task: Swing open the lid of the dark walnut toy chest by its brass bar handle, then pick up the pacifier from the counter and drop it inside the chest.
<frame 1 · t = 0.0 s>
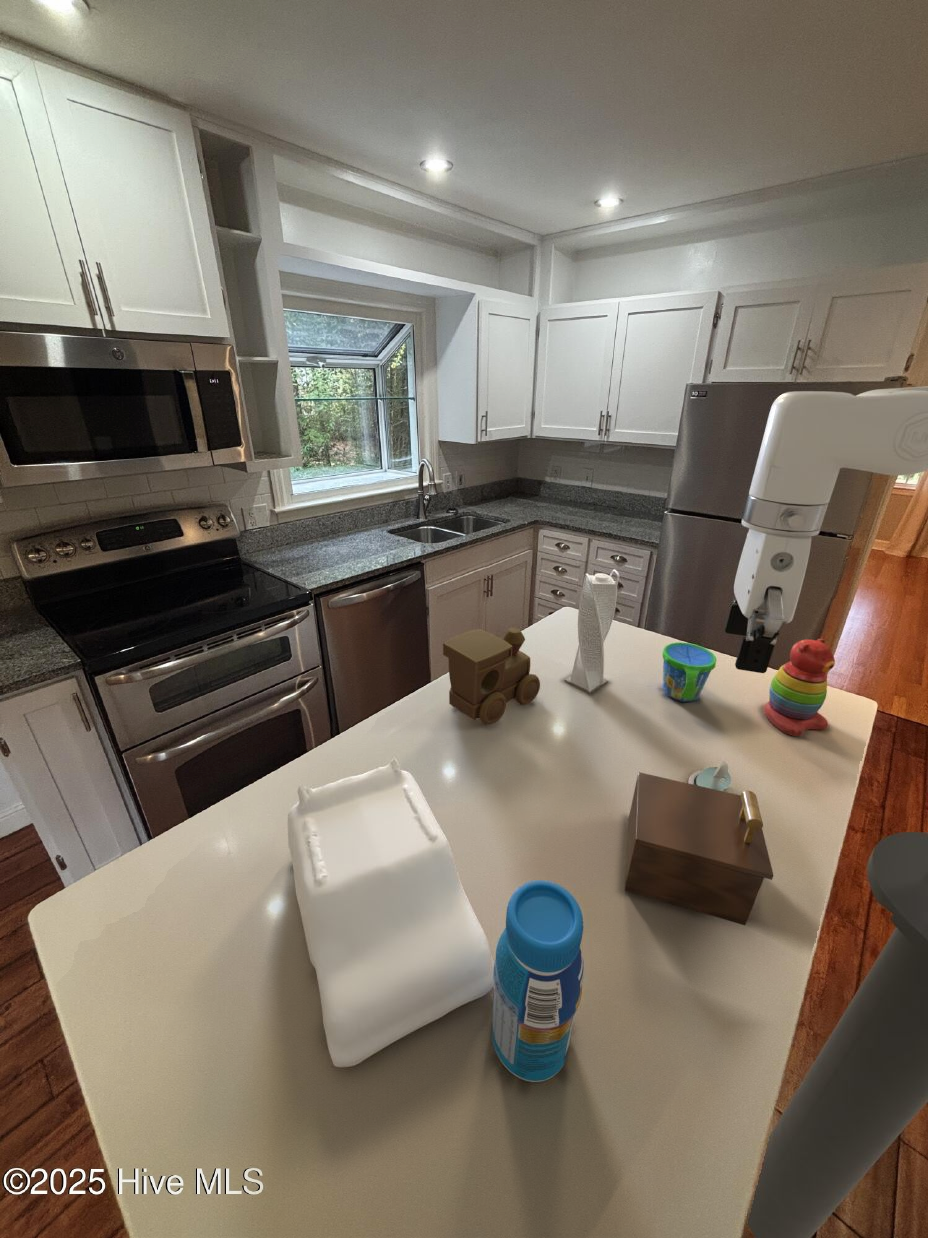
hand: (743, 650, 62), 32 cm above the counter, tool pointing down, fingers open, 9 cm apart
stacking bear: (789, 719, 103), on the counter
lid: (701, 808, 66), point 11 cm above the counter, hinge at 0.0°
beverage bottle: (529, 1036, 52), on the counter
wooden toy train: (493, 705, 106), on the counter
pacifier: (706, 788, 85), on the counter
chest: (680, 867, 71), on the counter
snack cup: (679, 694, 110), on the counter
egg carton: (381, 912, 64), on the counter
skyscraper: (586, 684, 114), on the counter
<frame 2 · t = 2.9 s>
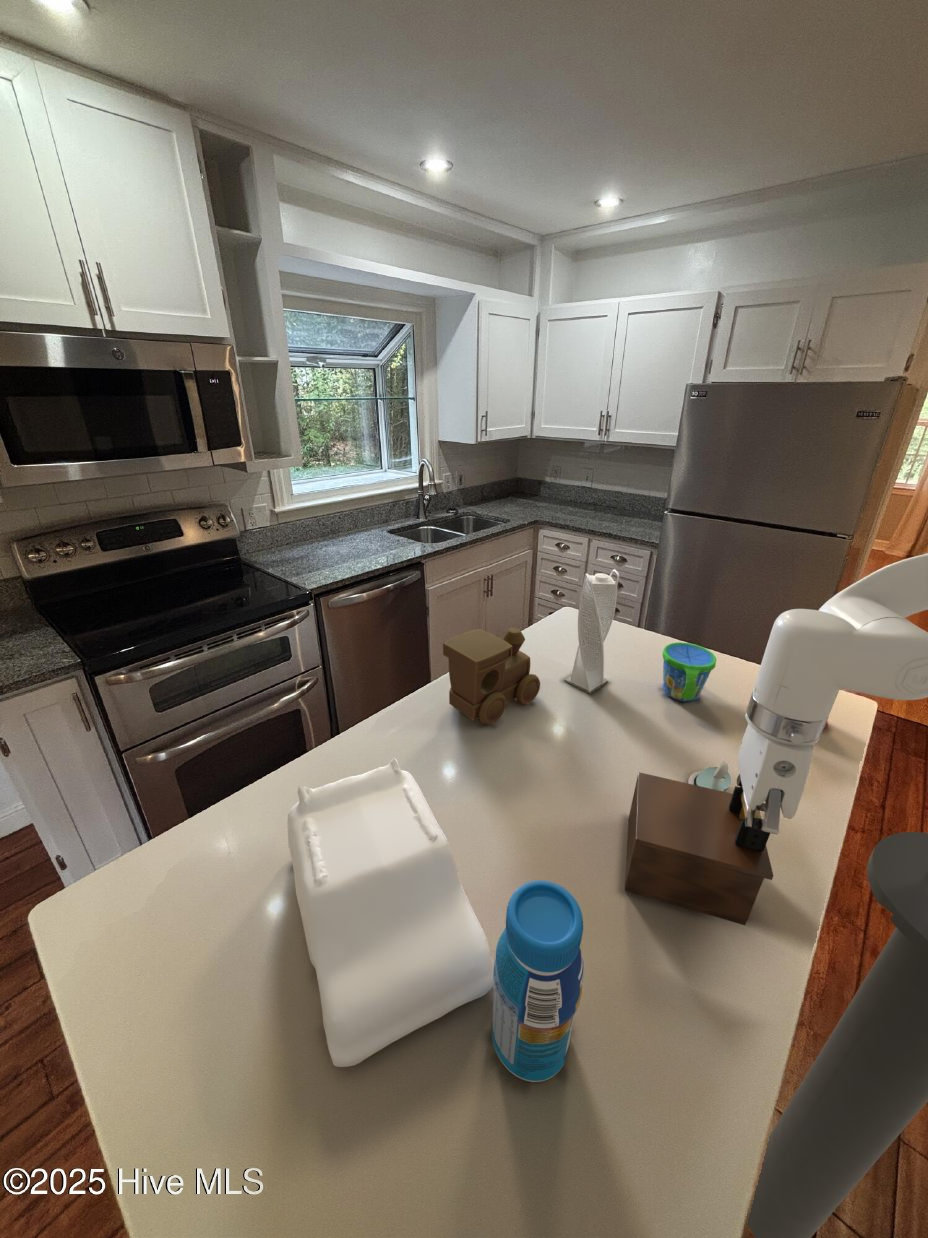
hand: (745, 828, 65), 10 cm above the counter, tool pointing down, fingers closed on lid, 5 cm apart
lid: (701, 808, 66), point 11 cm above the counter, hinge at -0.1°, touching gripper
everything else where it was.
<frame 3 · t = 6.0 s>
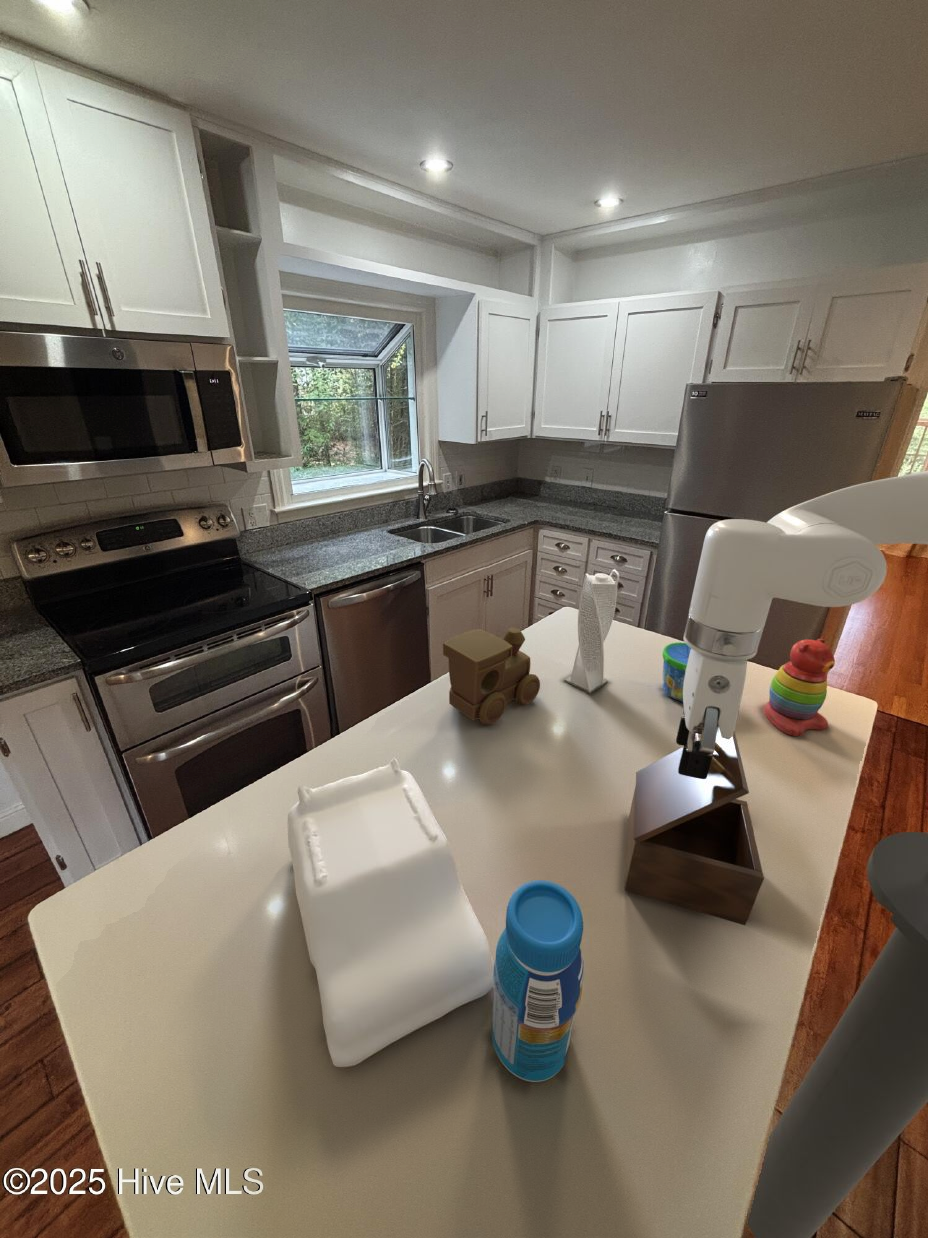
hand: (690, 758, 63), 19 cm above the counter, tool pointing down, fingers closed on lid, 5 cm apart
lid: (673, 770, 65), point 17 cm above the counter, hinge at 49.8°, touching gripper
everything else where it was.
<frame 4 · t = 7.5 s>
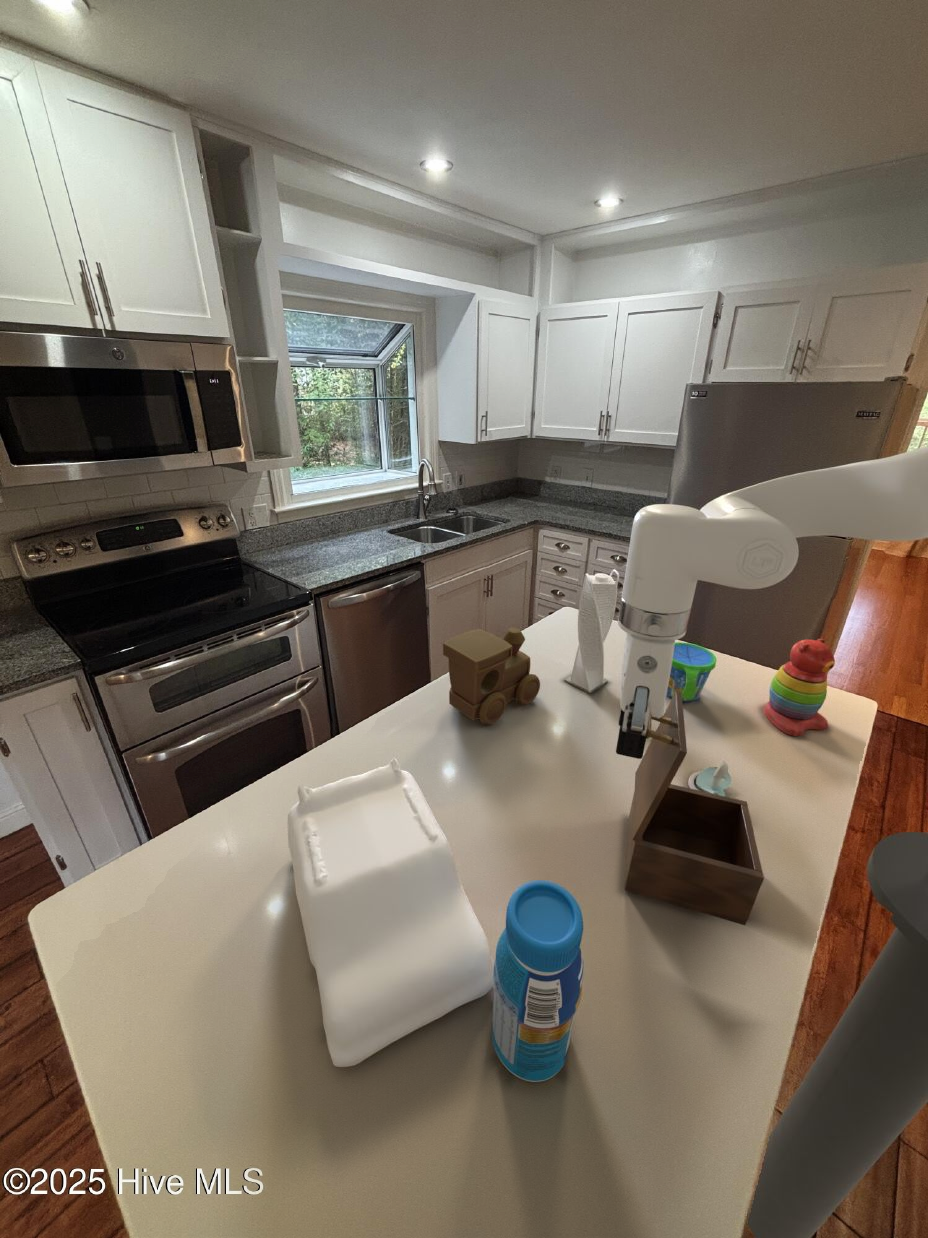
hand: (629, 739, 65), 20 cm above the counter, tool pointing down, fingers closed on lid, 5 cm apart
lid: (641, 758, 66), point 17 cm above the counter, hinge at 79.4°, touching gripper
everything else where it was.
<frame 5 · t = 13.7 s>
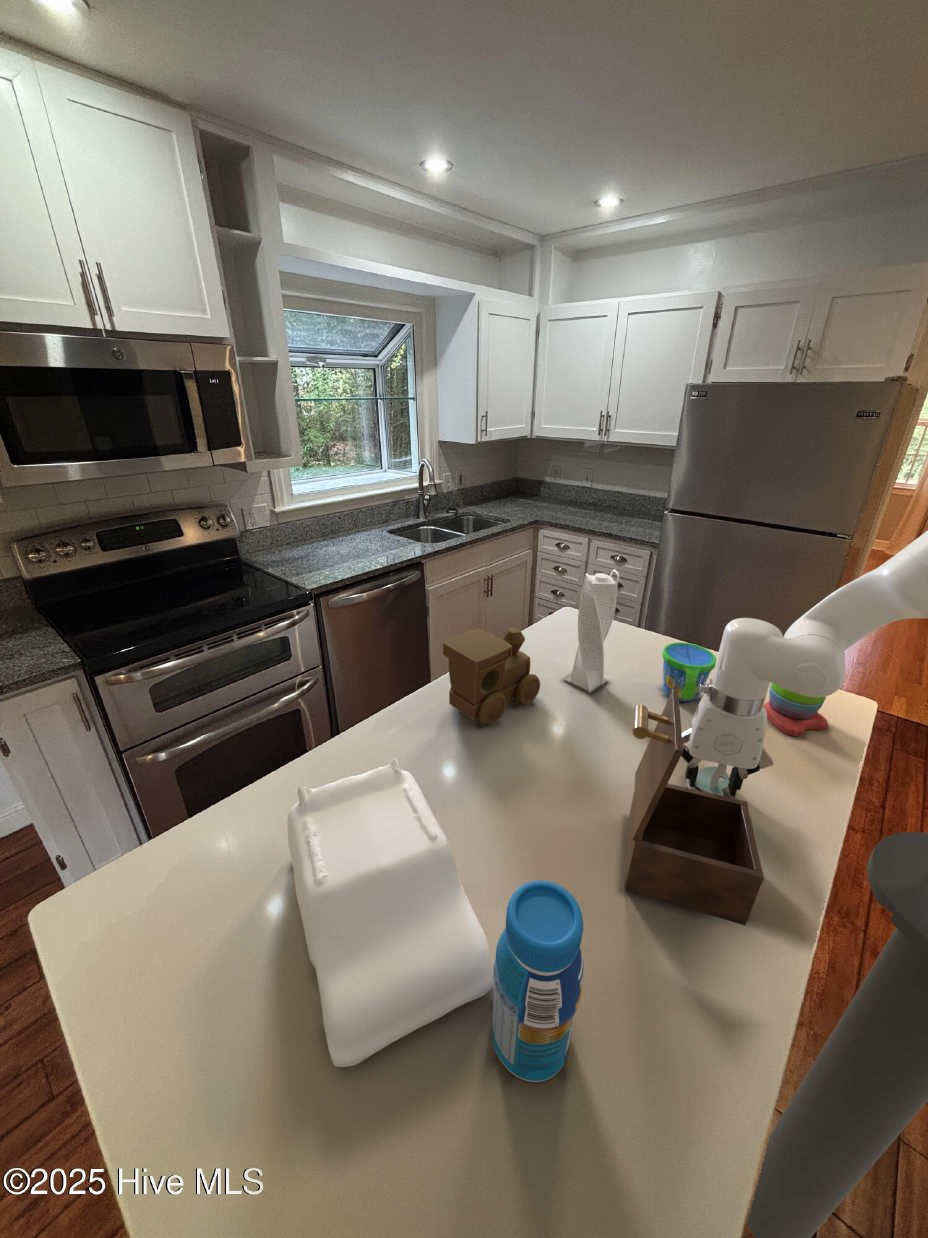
hand: (711, 785, 84), 1 cm above the counter, tool pointing down, fingers closed on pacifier, 5 cm apart
lid: (639, 758, 66), point 17 cm above the counter, hinge at 81.0°
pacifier: (705, 788, 85), on the counter, touching gripper
everything else where it was.
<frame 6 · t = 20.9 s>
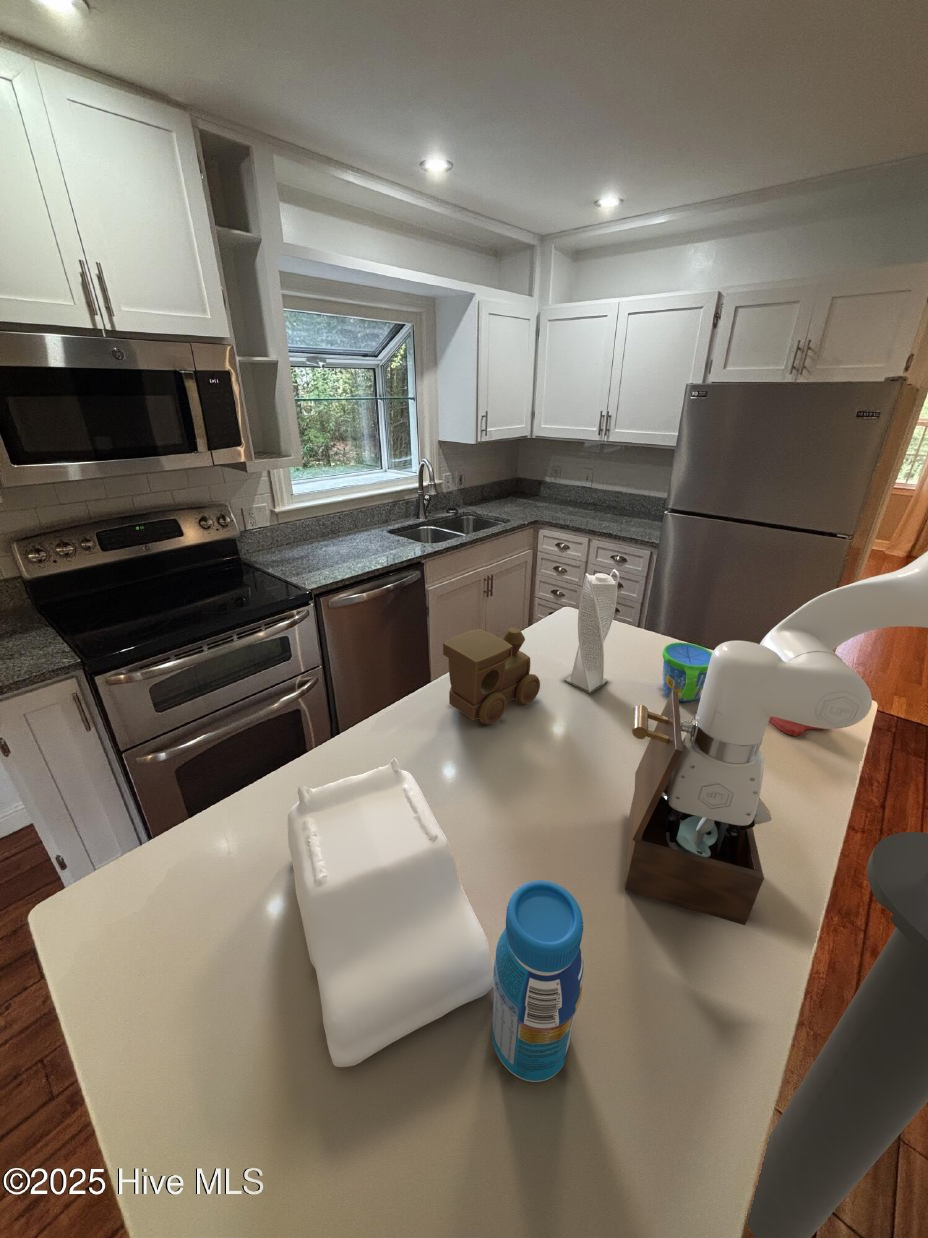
hand: (695, 840, 69), 5 cm above the counter, tool pointing down, fingers closed on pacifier, 5 cm apart
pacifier: (688, 843, 70), point 4 cm above the counter, touching gripper
everything else where it was.
when the fingers open (6 cm above the counter, at t = 30.9 s): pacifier drops 4 cm, resting on chest.
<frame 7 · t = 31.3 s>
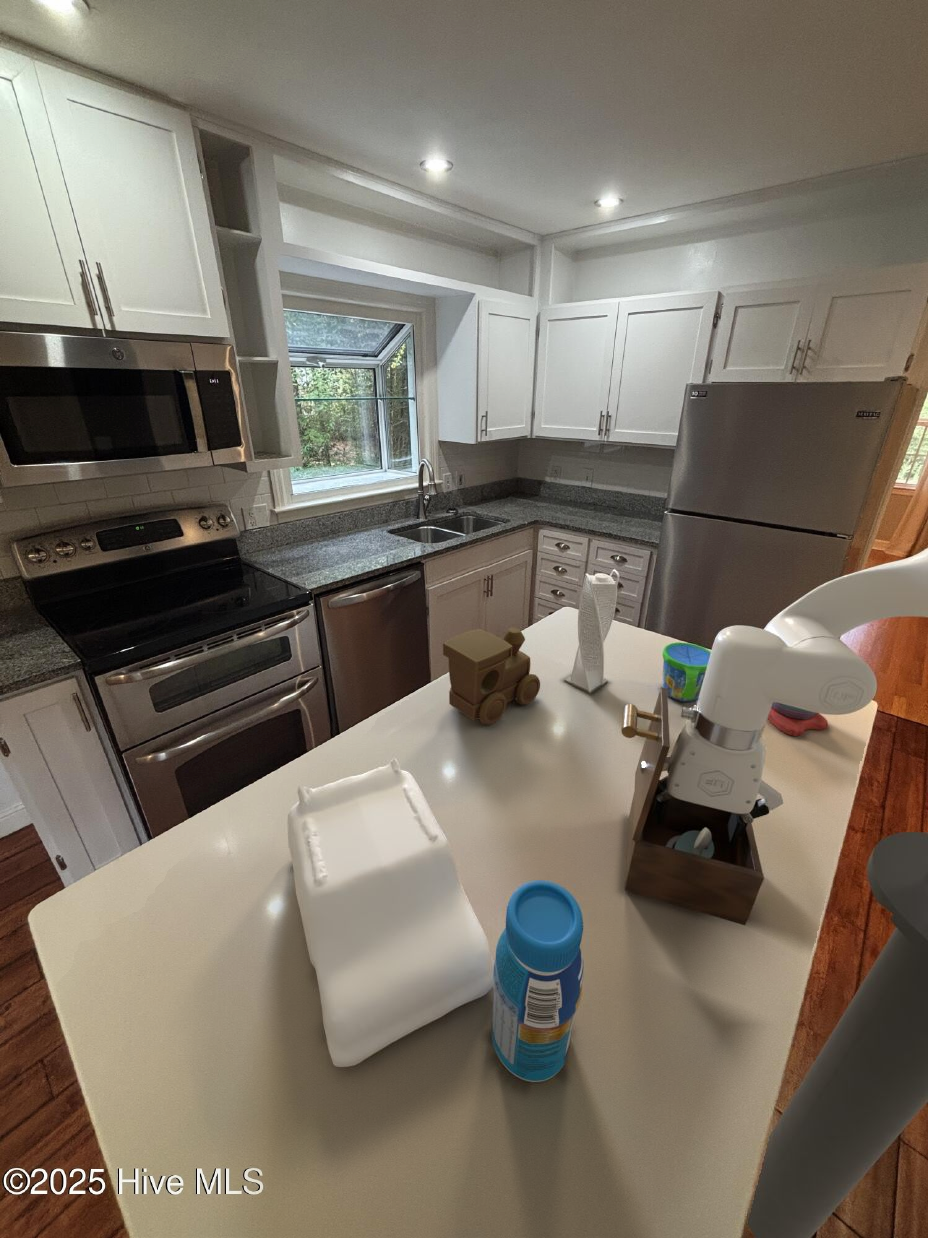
hand: (695, 826, 68), 7 cm above the counter, tool pointing down, fingers open, 8 cm apart
lid: (633, 757, 66), point 17 cm above the counter, hinge at 86.5°
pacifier: (686, 859, 71), point 1 cm above the counter, touching chest
everything else where it was.
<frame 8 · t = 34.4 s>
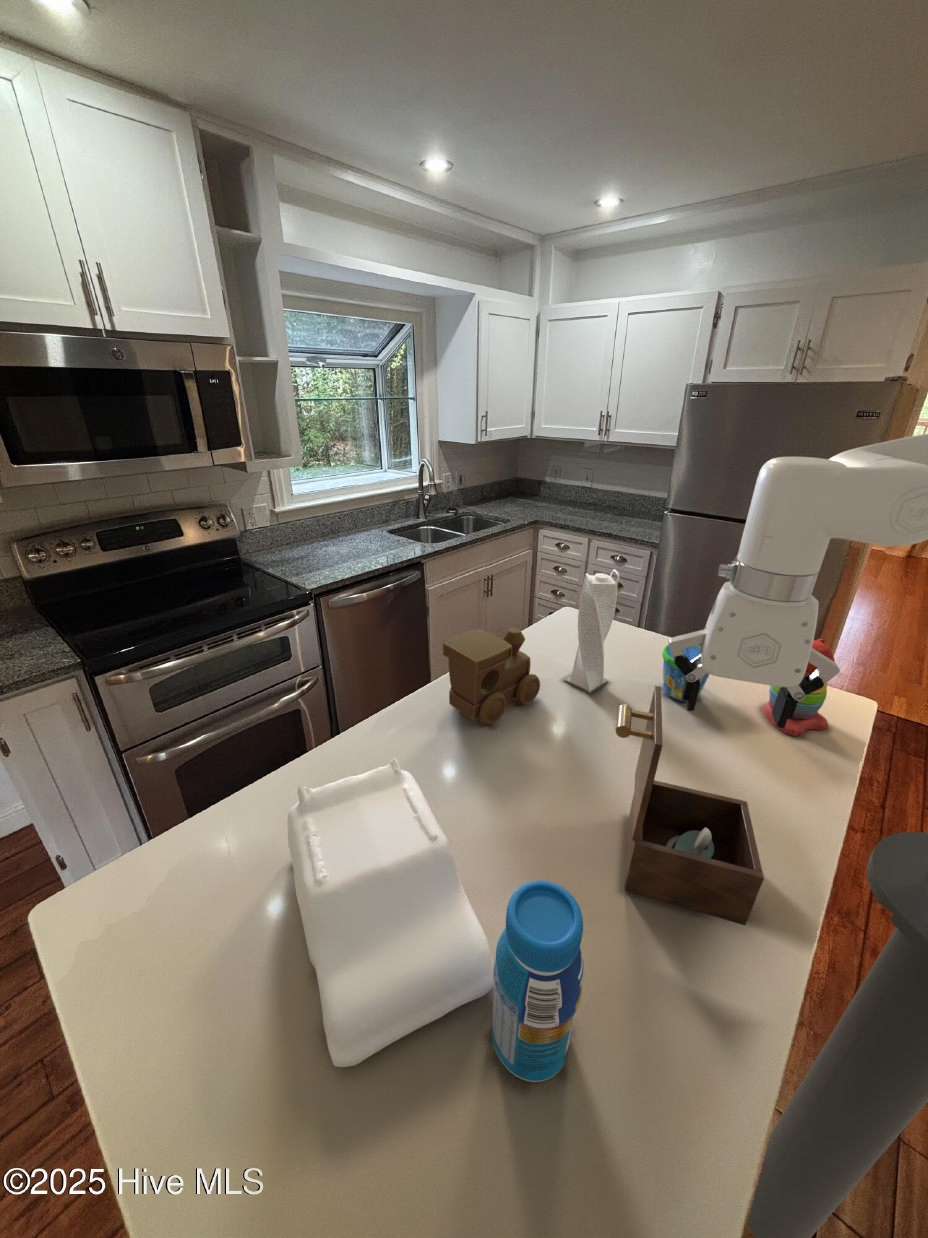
hand: (732, 712, 60), 26 cm above the counter, tool pointing down, fingers open, 9 cm apart
lid: (630, 757, 66), point 17 cm above the counter, hinge at 89.3°
everything else where it was.
at the end: lid at +89° (first picture: +0°); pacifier inside the target area in the chest (1.2 cm from its centre), point 0.7 cm above the chest's base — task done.
